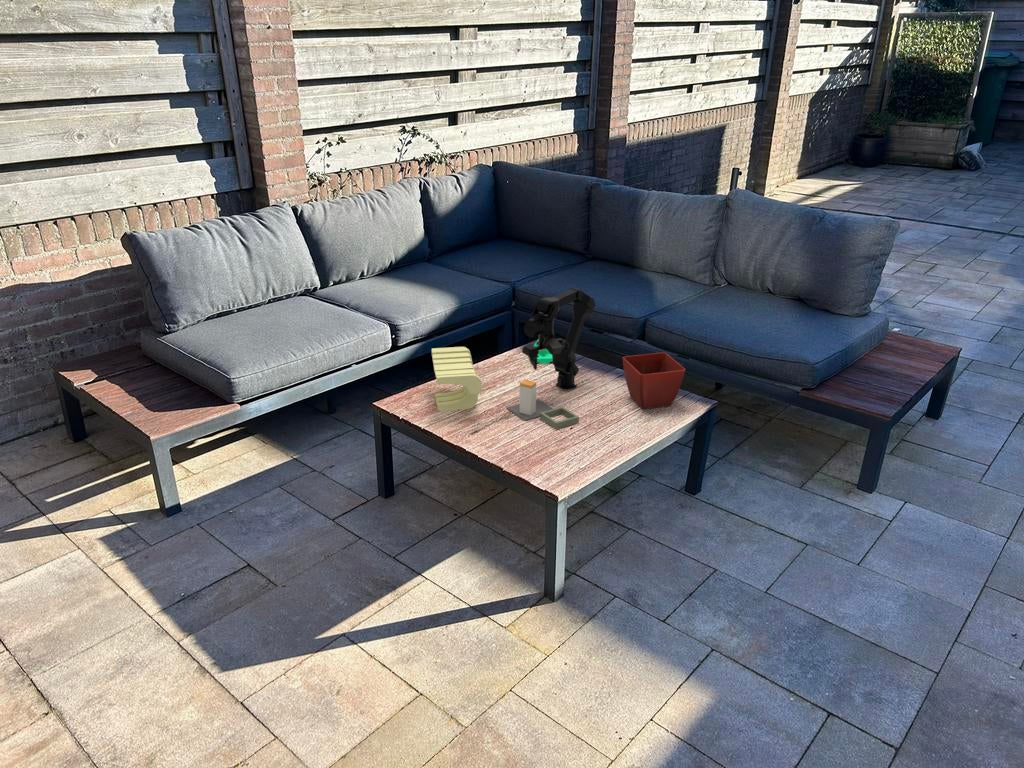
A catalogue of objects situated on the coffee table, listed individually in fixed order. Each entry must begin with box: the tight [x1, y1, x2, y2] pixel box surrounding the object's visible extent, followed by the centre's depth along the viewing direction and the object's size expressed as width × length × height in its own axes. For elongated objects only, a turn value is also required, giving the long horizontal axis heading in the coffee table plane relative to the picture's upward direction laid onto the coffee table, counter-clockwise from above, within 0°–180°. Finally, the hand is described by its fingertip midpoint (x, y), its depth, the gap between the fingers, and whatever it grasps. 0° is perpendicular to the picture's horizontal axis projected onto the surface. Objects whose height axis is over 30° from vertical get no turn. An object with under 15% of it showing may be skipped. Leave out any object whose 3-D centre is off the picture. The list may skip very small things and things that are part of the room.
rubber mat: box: [506, 398, 554, 422], centre depth 316 cm, size 15×13×1 cm
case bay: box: [539, 406, 580, 430], centre depth 308 cm, size 11×11×2 cm
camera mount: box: [533, 338, 553, 365], centre depth 362 cm, size 12×8×10 cm, turn 97°
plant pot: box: [622, 352, 686, 410], centre depth 322 cm, size 19×19×17 cm
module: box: [519, 379, 537, 415], centre depth 311 cm, size 4×5×12 cm
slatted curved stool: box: [431, 346, 482, 412], centre depth 319 cm, size 30×16×18 cm, turn 10°
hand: (544, 367), depth 323 cm, fingers open, 9 cm apart
